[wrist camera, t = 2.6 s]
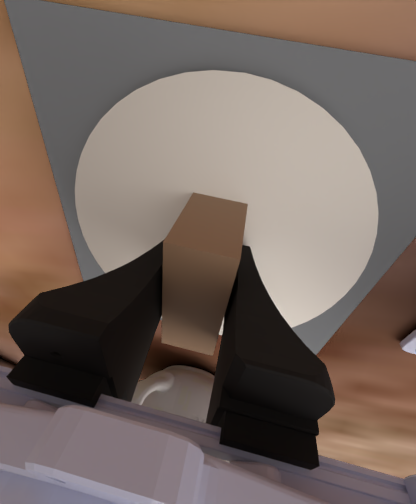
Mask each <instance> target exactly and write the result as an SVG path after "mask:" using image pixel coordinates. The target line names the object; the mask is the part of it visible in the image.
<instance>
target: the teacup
mask: <svg viewBox="0 0 416 504" xmlns="http://www.w3.org/2000/svg"><path fill="white" fill-rule="evenodd" d="M214 377H215V376H214V375H212V374H210V373H209V372H206V371H204V370H201V369H198V368H194V367H190V366H183V365H175V366H170V367H167V368H165V369H164V370H162V371H158V372H156V373H154V374H152V375H150V376H149V377H147V378H146V379H144V380H141V381H139V382H138V383H137V386H136V389H135V392H134V395H133V398H132V401H131V402H132V403H135V404H139V405H143V406H146V407H150V408H153V409H157V410H160V411H164V412H167V413H171V414H175V415H178V416H182V417H185V418H189V419H192V420H196V421H199V422H203V423H206V419H207V413H208V408H209V403H210V398H211V393H212V388H213V383H214ZM218 459H219V458H218ZM221 460H222V459H221ZM223 461H226V460H223ZM226 462H228V463H230V462H229V461H226Z"/></svg>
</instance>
